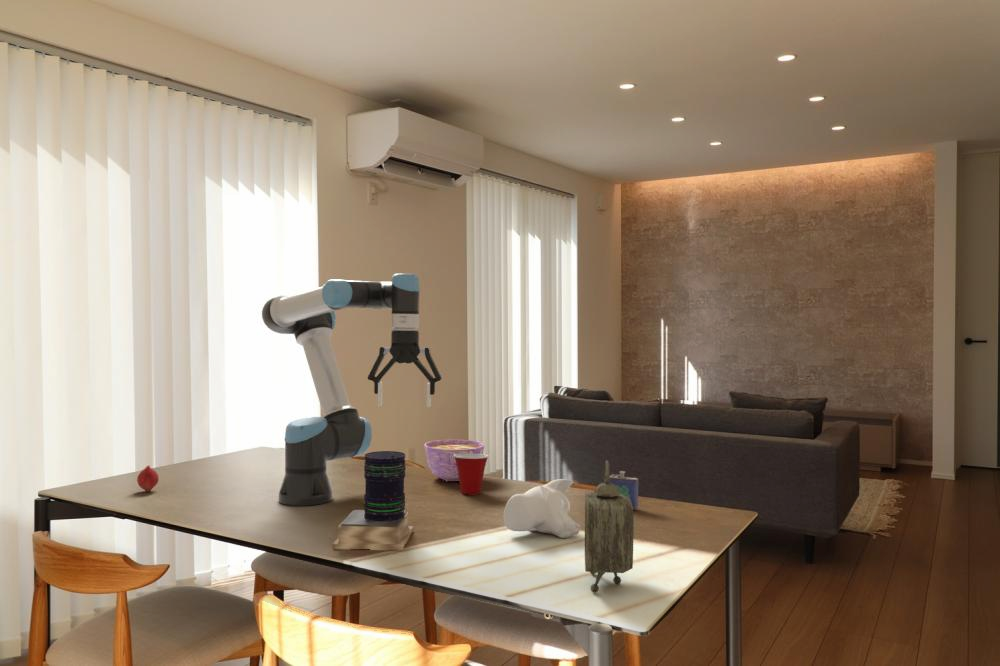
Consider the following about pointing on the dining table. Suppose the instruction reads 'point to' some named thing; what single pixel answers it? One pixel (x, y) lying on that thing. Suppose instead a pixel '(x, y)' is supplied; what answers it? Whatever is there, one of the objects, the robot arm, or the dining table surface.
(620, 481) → the flask
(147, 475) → the onion
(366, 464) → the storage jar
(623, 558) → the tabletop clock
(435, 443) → the bowl of food
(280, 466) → the dining table surface
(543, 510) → the fox head
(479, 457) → the plastic cup
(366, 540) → the plinth
